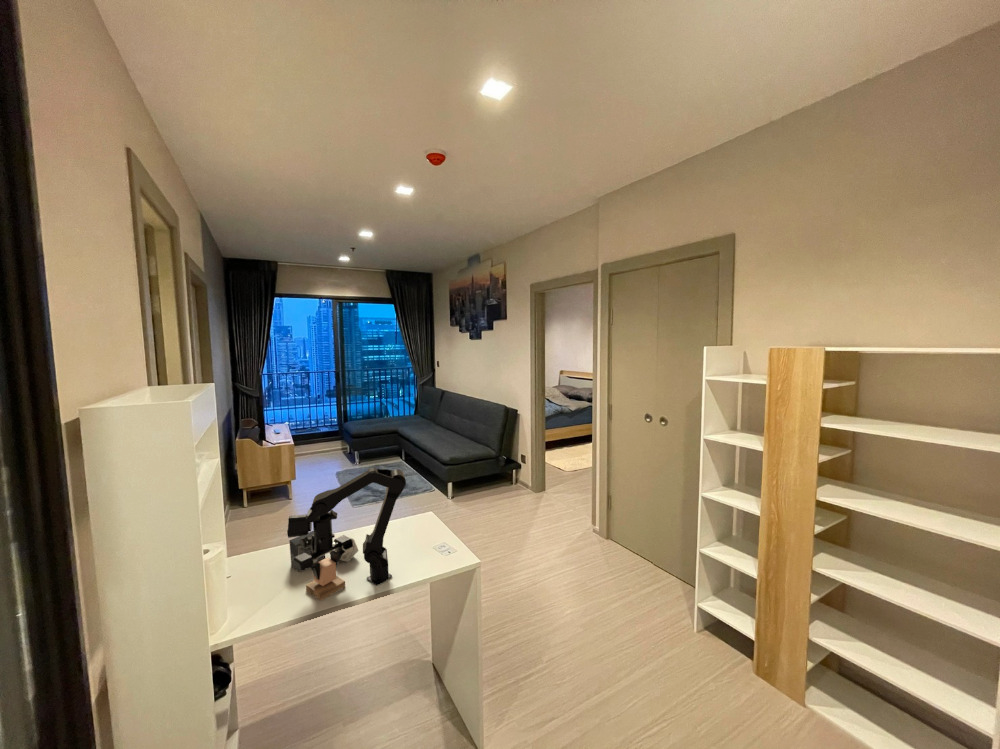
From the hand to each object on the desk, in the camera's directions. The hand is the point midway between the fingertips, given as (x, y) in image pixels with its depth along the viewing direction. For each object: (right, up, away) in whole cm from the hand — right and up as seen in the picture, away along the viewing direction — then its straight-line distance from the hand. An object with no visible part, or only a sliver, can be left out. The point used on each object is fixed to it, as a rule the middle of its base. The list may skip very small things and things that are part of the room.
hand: (325, 575), depth 137 cm
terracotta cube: (0, -2, 0) cm, 2 cm away
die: (0, -3, +19) cm, 19 cm away
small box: (-13, -3, +16) cm, 21 cm away
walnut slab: (0, -5, 0) cm, 5 cm away
